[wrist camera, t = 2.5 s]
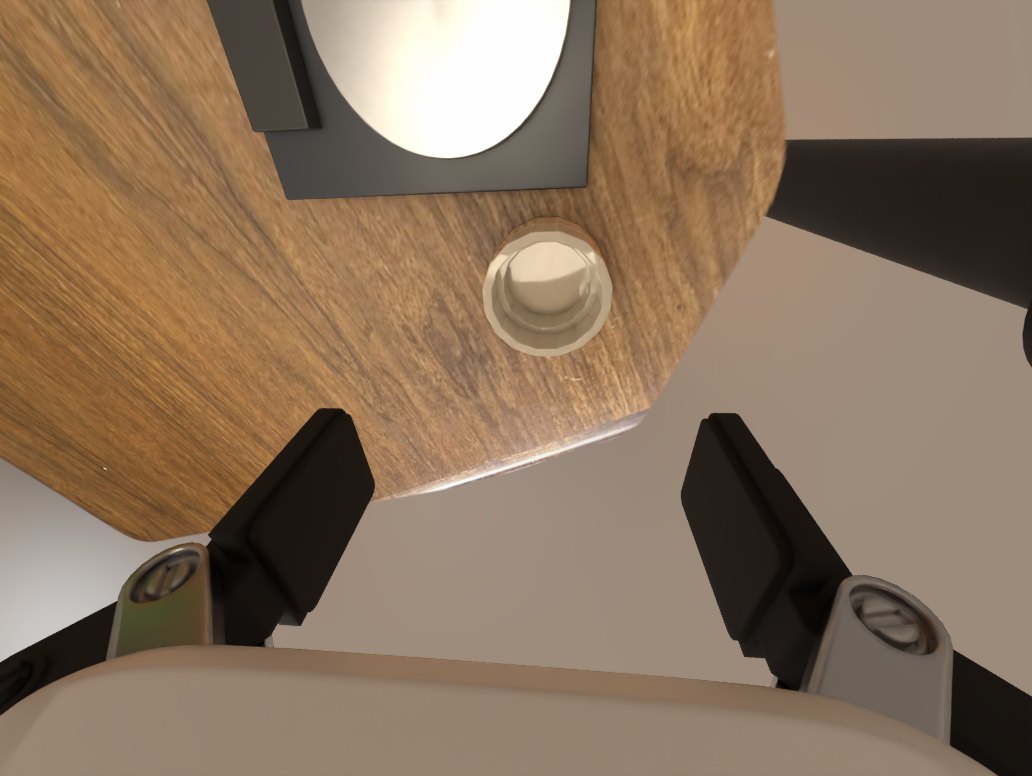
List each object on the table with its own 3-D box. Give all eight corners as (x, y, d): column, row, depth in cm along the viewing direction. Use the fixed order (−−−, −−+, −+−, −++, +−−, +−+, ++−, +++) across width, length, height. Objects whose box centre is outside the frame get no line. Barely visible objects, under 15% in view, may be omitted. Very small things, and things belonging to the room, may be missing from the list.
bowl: (607, 213, 21) (618, 229, 18) (598, 324, 25) (606, 356, 21) (489, 217, 22) (476, 233, 18) (498, 324, 26) (488, 356, 22)
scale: (605, -272, 13) (621, -398, 10) (583, 182, 21) (589, 190, 18) (188, -206, 15) (90, -299, 12) (311, 194, 22) (272, 203, 19)
